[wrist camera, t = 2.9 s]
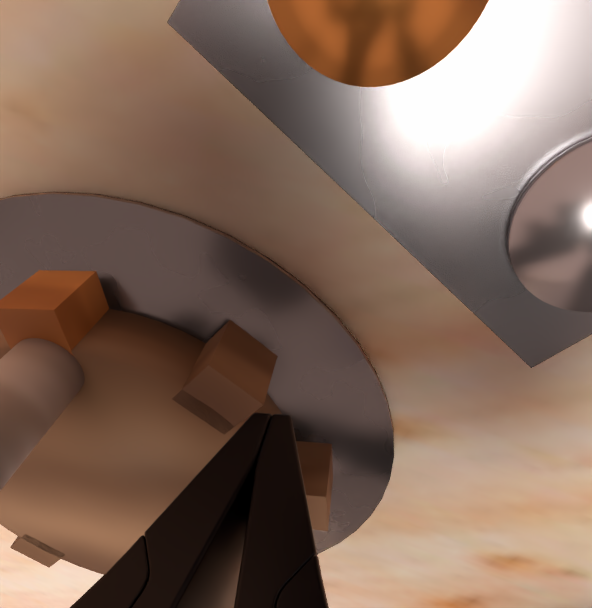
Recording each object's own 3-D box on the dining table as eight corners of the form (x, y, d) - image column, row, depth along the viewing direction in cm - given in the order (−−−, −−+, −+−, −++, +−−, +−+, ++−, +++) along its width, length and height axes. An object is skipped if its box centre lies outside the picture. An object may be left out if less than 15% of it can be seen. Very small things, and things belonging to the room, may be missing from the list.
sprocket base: (383, 587, 21) (383, 596, 20) (21, 541, 24) (16, 549, 24) (413, 185, 11) (414, 191, 10) (-226, 196, 14) (-241, 201, 13)
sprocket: (336, 571, 19) (324, 738, 15) (34, 534, 22) (-55, 669, 17) (326, 274, 12) (293, 439, 7) (-147, 267, 14) (-395, 387, 9)
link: (636, 110, 9) (866, 195, 5) (473, 237, 11) (535, 376, 7) (407, -198, 7) (453, -495, 3) (259, 18, 9) (160, 22, 5)
